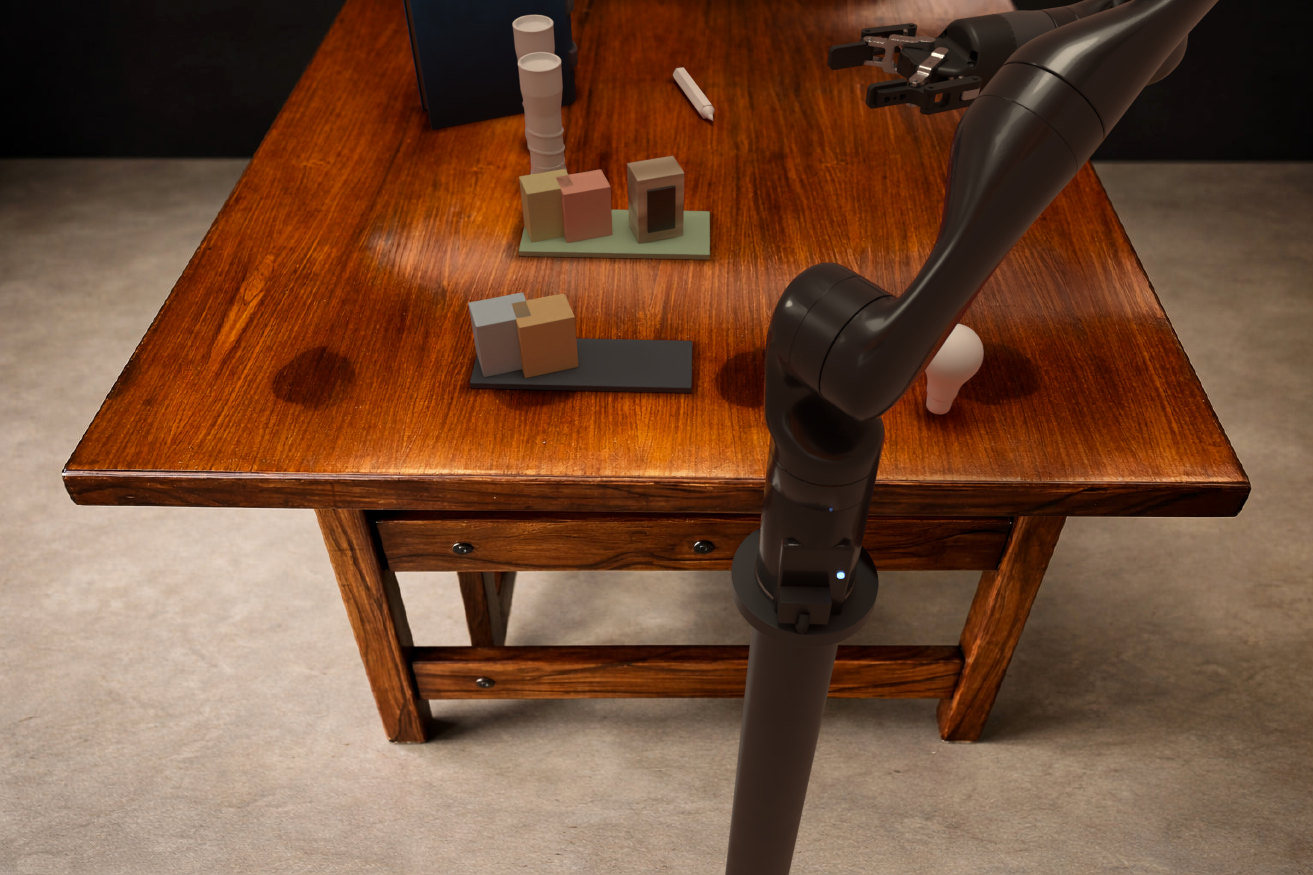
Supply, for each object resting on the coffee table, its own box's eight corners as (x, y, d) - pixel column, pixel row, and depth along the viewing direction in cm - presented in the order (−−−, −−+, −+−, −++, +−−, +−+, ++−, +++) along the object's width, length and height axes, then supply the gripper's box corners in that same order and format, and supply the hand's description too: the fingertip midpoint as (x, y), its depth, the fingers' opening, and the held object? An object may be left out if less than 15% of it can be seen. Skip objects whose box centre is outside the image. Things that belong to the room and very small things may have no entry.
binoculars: (571, 197, 139) (563, 69, 126) (531, 200, 138) (518, 72, 125) (560, 135, 151) (551, 13, 138) (523, 138, 150) (511, 16, 138)
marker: (712, 131, 153) (677, 84, 164) (723, 123, 153) (688, 76, 163) (704, 118, 151) (670, 71, 162) (716, 110, 151) (681, 63, 162)
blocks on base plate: (691, 393, 110) (693, 337, 105) (470, 388, 111) (460, 332, 106) (692, 346, 116) (693, 290, 111) (481, 341, 117) (472, 286, 111)
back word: (709, 260, 128) (711, 205, 123) (518, 256, 129) (512, 202, 123) (709, 216, 135) (711, 163, 130) (528, 213, 136) (523, 160, 130)
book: (568, 78, 164) (553, -130, 143) (585, 101, 158) (573, -111, 137) (419, 104, 158) (381, -108, 137) (432, 130, 152) (394, -88, 131)
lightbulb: (978, 417, 108) (1003, 336, 100) (935, 439, 105) (956, 357, 98) (938, 385, 111) (958, 303, 104) (895, 405, 109) (913, 323, 101)
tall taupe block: (684, 237, 130) (685, 174, 124) (639, 245, 129) (638, 182, 123) (672, 217, 134) (673, 155, 127) (628, 225, 132) (626, 163, 126)
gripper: (968, -11, 103) (821, 9, 100) (1048, 46, 94) (888, 71, 90) (953, 60, 109) (813, 82, 105) (1027, 122, 99) (876, 148, 96)
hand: (848, 77), depth 98 cm, fingers open, 8 cm apart
